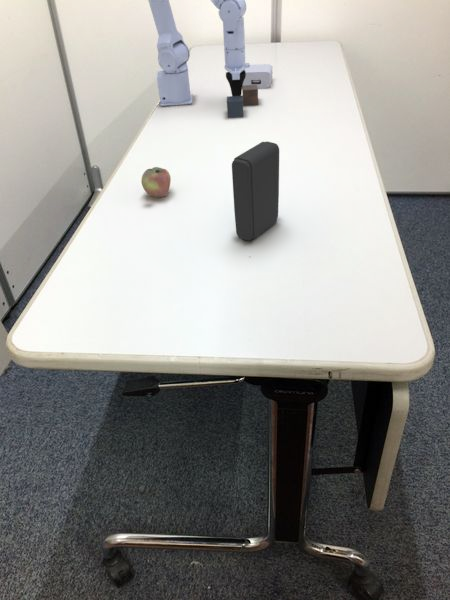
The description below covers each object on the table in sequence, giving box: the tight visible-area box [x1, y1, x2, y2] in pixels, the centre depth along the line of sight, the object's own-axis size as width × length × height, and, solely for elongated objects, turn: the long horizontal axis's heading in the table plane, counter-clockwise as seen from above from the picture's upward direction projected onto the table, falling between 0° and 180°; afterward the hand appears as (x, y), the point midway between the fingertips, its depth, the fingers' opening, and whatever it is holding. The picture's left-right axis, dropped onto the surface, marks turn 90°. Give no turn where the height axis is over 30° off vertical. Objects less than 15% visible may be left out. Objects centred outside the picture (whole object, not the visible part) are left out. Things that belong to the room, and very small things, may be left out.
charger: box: [242, 63, 273, 89], centre depth 151 cm, size 5×9×15 cm
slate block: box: [226, 95, 245, 119], centre depth 129 cm, size 4×4×4 cm
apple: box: [140, 166, 172, 198], centre depth 95 cm, size 6×8×6 cm
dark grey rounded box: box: [231, 140, 280, 242], centre depth 80 cm, size 9×4×15 cm, turn 141°
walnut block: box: [241, 85, 259, 107], centre depth 135 cm, size 4×4×4 cm
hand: (236, 98), depth 136 cm, fingers closed, pressing on walnut block
